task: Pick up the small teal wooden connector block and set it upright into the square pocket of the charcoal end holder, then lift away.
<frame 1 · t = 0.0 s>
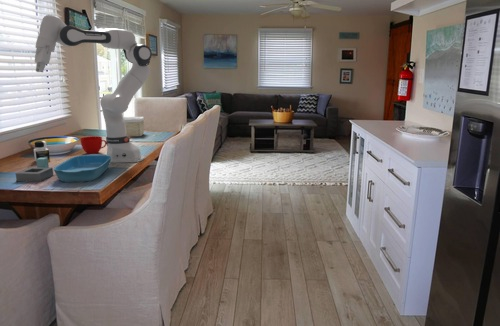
hand: (39, 71, 210), 52 cm above the table, tool tilted 20°, fingers open, 8 cm apart
medicine bottle: (42, 161, 241), on the table
connector block: (43, 171, 217), on the table
casserole dish: (85, 175, 210), on the table
end holder: (35, 178, 203), on the table
ceramic cup: (95, 153, 261), on the table
storage basket: (128, 136, 329), on the table
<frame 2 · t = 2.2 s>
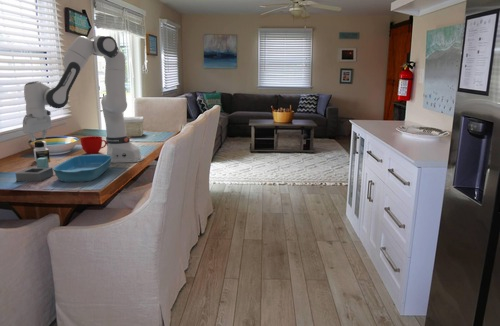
hand: (38, 139, 213), 17 cm above the table, tool pointing down, fingers open, 8 cm apart
nothing on the table moved.
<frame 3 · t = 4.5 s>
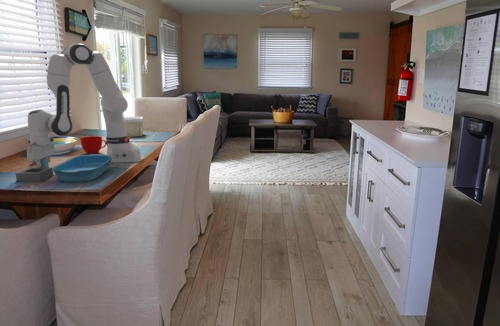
hand: (42, 166, 217), 3 cm above the table, tool pointing down, fingers closed on connector block, 4 cm apart
connector block: (43, 171, 217), on the table, touching gripper
everything else where it was.
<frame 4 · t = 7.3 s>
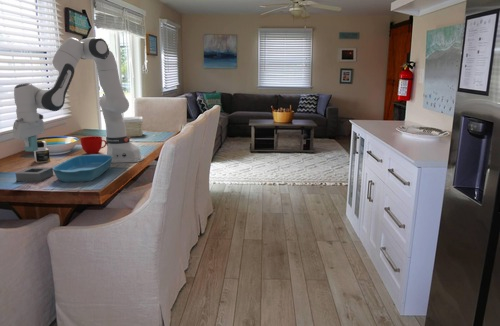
hand: (31, 145, 199), 17 cm above the table, tool pointing down, fingers closed on connector block, 4 cm apart
connector block: (31, 150, 200), point 14 cm above the table, touching gripper
when the fingers open (5 cm above the table, at t = 10.1 s): connector block drops 1 cm, resting on end holder.
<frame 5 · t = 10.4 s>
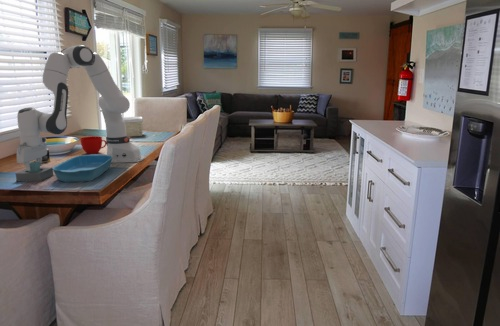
hand: (34, 168, 202), 5 cm above the table, tool pointing down, fingers open, 7 cm apart
connector block: (35, 176, 203), point 1 cm above the table, touching end holder
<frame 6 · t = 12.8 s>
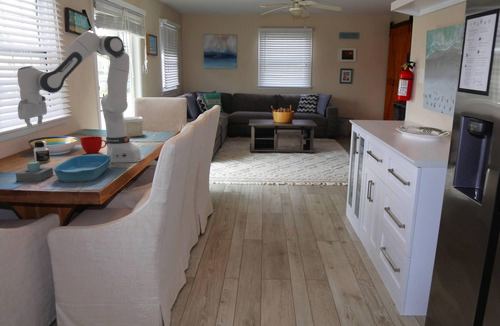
hand: (35, 125, 209), 25 cm above the table, tool pointing down, fingers open, 8 cm apart
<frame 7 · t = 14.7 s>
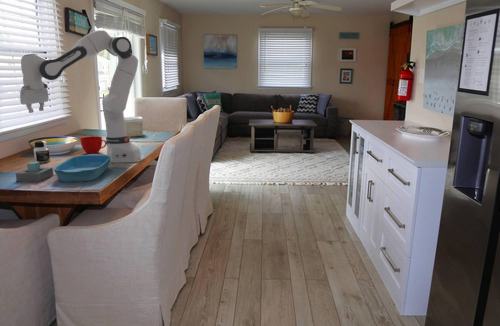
hand: (36, 111, 217), 31 cm above the table, tool pointing down, fingers open, 8 cm apart
at the end: connector block 0.1 cm off-centre on the end holder, point 1.0 cm above the end holder's base; connector block tilted 0°; the gripper is holding nothing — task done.
